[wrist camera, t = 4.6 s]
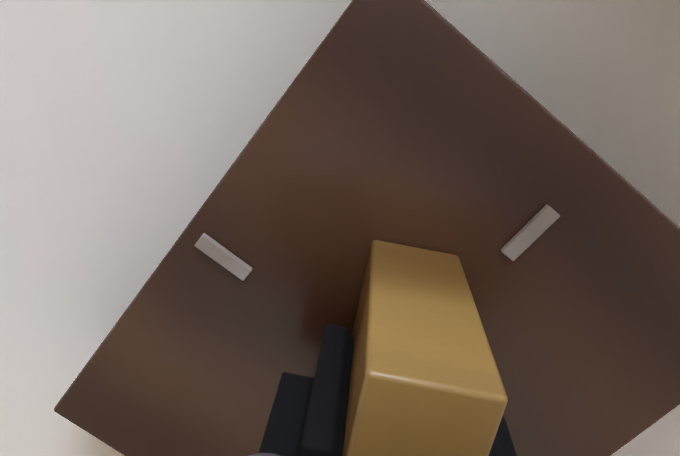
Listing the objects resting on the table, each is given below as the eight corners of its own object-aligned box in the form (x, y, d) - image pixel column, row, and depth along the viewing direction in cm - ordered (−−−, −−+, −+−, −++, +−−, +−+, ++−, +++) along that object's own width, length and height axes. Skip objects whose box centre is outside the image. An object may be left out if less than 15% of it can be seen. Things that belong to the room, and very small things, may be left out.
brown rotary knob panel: (381, -23, 13) (380, -41, 10) (711, 269, 15) (794, 329, 12) (106, 349, 17) (48, 414, 14) (386, 535, 19) (387, 627, 16)
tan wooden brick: (372, 237, 12) (365, 383, 7) (459, 254, 12) (515, 411, 7) (323, 471, 14) (292, 702, 9) (395, 486, 14) (402, 724, 9)
